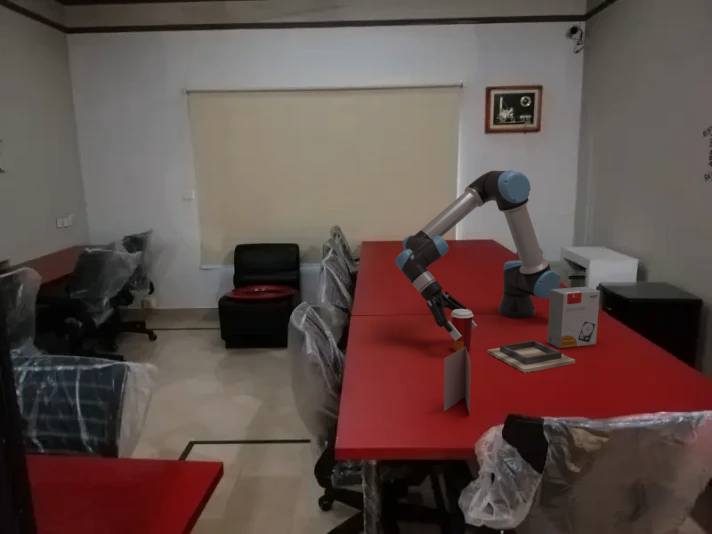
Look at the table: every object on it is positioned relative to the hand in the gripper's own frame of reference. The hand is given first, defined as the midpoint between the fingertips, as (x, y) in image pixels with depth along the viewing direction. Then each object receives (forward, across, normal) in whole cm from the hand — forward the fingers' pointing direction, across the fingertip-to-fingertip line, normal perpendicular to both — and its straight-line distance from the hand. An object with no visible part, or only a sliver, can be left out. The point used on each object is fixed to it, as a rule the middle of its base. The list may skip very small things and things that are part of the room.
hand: (466, 333), depth 194 cm
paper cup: (+3, 0, -6) cm, 7 cm away
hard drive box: (+26, -26, +16) cm, 40 cm away
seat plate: (+20, -4, +10) cm, 22 cm away
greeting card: (+17, +42, +8) cm, 46 cm away
